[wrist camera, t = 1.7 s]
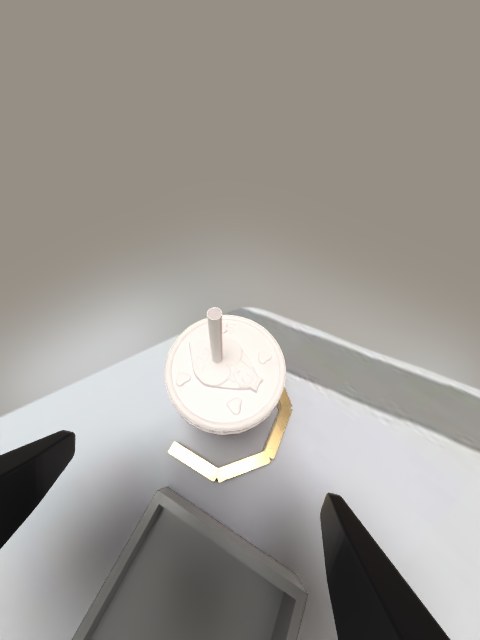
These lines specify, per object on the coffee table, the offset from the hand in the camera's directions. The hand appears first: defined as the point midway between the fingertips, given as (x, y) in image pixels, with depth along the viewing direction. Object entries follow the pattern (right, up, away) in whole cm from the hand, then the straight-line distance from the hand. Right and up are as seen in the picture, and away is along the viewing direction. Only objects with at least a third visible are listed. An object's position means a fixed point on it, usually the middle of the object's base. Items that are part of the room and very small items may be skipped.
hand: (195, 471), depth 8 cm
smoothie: (0, -2, +12) cm, 13 cm away
